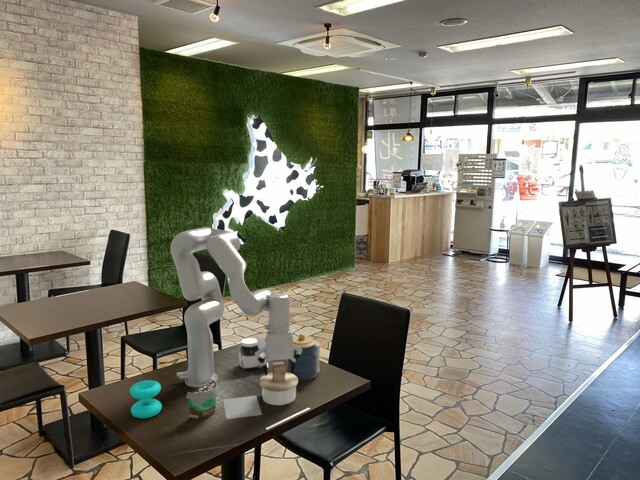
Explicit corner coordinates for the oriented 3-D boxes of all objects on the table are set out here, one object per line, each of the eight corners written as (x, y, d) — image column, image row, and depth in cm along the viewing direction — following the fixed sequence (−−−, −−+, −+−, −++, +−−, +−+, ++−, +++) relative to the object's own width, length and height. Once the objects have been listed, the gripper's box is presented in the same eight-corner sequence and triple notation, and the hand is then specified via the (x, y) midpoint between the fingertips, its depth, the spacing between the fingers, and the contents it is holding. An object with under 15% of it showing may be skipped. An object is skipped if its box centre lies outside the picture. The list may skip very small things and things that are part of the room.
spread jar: (237, 364, 205) (236, 338, 203) (262, 359, 210) (262, 334, 208) (246, 375, 194) (245, 348, 193) (272, 370, 200) (272, 343, 198)
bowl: (265, 407, 169) (265, 391, 168) (260, 392, 180) (260, 377, 179) (298, 403, 172) (298, 388, 171) (291, 388, 183) (291, 373, 182)
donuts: (164, 386, 162) (134, 394, 156) (165, 414, 164) (135, 423, 158) (155, 376, 170) (126, 383, 164) (156, 402, 172) (127, 410, 166)
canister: (313, 383, 187) (313, 341, 185) (281, 380, 190) (281, 338, 187) (320, 370, 200) (320, 329, 197) (290, 367, 203) (290, 327, 200)
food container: (200, 426, 157) (199, 397, 155) (187, 420, 160) (186, 392, 158) (226, 410, 167) (225, 383, 165) (213, 405, 170) (212, 378, 169)
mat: (226, 420, 160) (226, 419, 160) (223, 400, 174) (223, 399, 173) (262, 415, 163) (262, 414, 163) (256, 396, 177) (256, 395, 177)
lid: (257, 376, 180) (256, 358, 179) (293, 372, 184) (293, 355, 182) (262, 393, 167) (262, 374, 165) (301, 389, 170) (302, 370, 169)
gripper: (256, 333, 166) (256, 379, 169) (304, 329, 171) (304, 374, 173) (253, 326, 173) (253, 370, 176) (300, 322, 178) (299, 366, 180)
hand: (278, 372), depth 175 cm, fingers open, 9 cm apart
